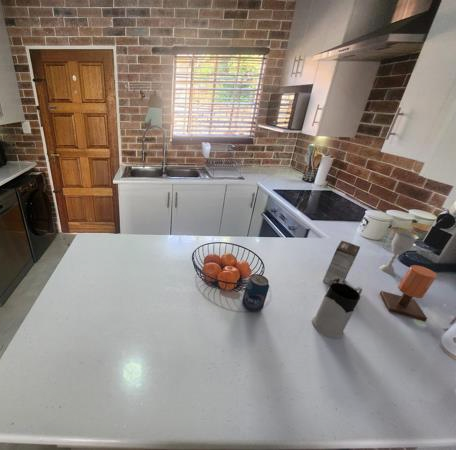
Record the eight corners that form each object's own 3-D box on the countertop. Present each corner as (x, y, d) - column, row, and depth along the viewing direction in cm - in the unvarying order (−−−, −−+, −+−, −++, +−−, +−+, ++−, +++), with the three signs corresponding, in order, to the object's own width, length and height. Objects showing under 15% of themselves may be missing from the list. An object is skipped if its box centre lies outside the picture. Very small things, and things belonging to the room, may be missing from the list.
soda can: (240, 310, 85) (247, 283, 79) (241, 297, 91) (248, 270, 85) (262, 316, 83) (271, 288, 77) (262, 302, 89) (270, 275, 83)
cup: (418, 289, 88) (431, 268, 83) (426, 300, 82) (441, 279, 78) (395, 283, 90) (407, 263, 86) (402, 294, 85) (415, 273, 81)
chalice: (401, 275, 106) (423, 239, 98) (385, 274, 106) (406, 238, 98) (387, 265, 113) (407, 230, 105) (372, 264, 113) (391, 230, 104)
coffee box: (327, 272, 106) (341, 239, 99) (345, 279, 102) (361, 246, 95) (321, 281, 101) (336, 247, 93) (340, 289, 97) (356, 255, 89)
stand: (412, 302, 91) (435, 268, 84) (425, 321, 83) (451, 285, 76) (379, 293, 95) (398, 260, 88) (388, 311, 87) (410, 276, 80)
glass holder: (305, 320, 82) (321, 285, 75) (333, 309, 87) (350, 275, 80) (331, 342, 75) (350, 305, 68) (360, 328, 80) (380, 292, 73)
